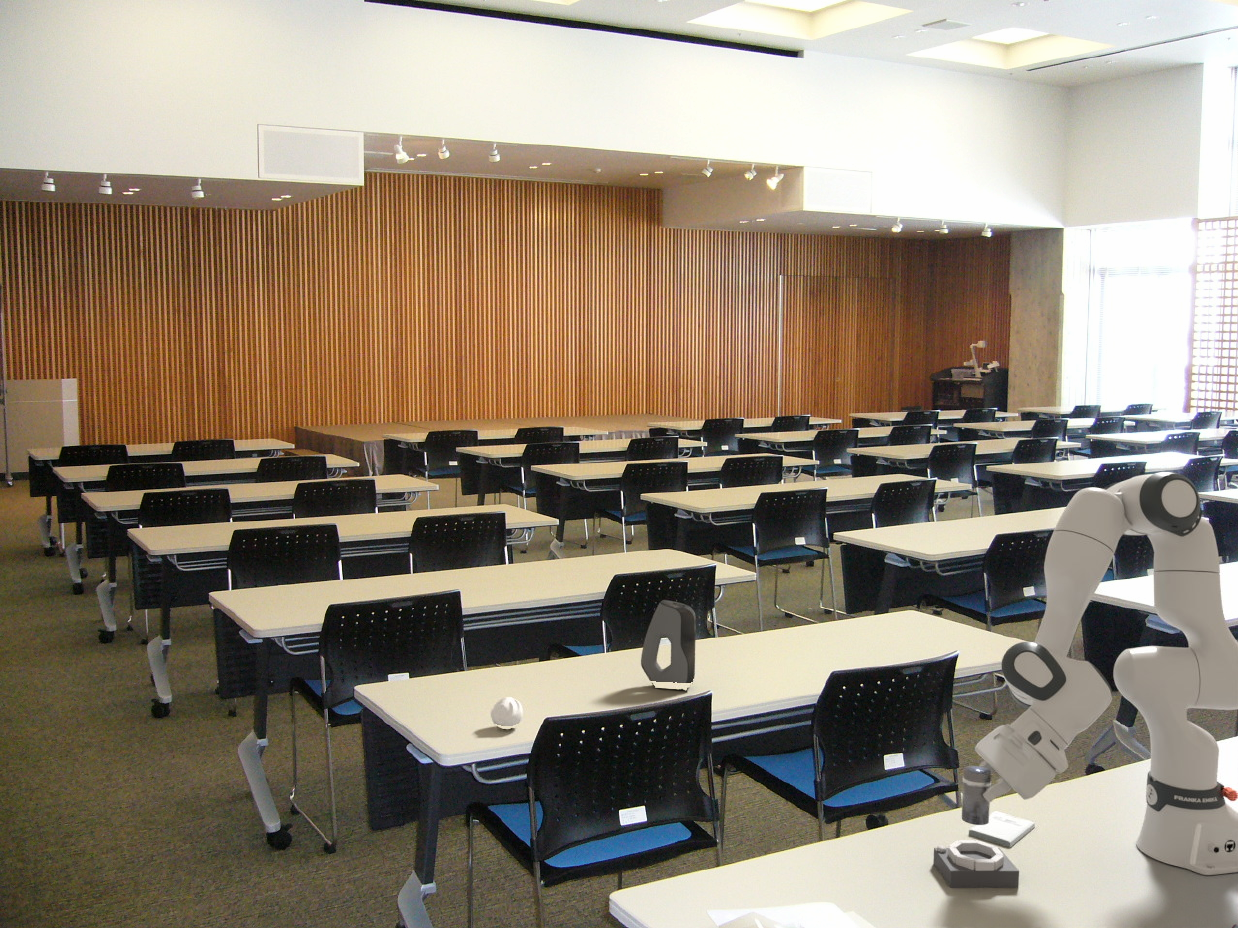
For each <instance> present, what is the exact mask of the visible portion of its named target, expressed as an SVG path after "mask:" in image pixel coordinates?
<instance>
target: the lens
mask: <svg viewBox="0 0 1238 928" xmlns="http://www.w3.org/2000/svg"><path fill="white" fill-rule="evenodd" d="M962 772H963V775H962V797H961V798H962V799H961V820H962V821H963V822H965V823H966V824H969V825H974V826H975V825H985V824H988V823H989V815H990V807H991V806H990V804H991V802H988V801H987V800H986V799H985V798H984V797H983V796H982V794H981V792H982V791H983V790H984V789H985V788H986V787H987V786H988V787H991V786H992V778H991V776H992V774H991V771H990V770H989V769H987V768H984V767H980V766H979V765H967V766H966V765H965V766H964V767H963V771H962Z"/></svg>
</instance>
